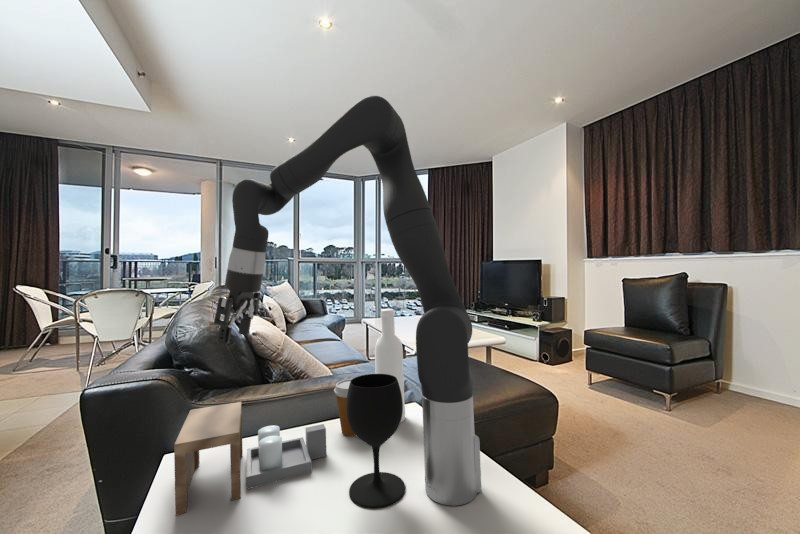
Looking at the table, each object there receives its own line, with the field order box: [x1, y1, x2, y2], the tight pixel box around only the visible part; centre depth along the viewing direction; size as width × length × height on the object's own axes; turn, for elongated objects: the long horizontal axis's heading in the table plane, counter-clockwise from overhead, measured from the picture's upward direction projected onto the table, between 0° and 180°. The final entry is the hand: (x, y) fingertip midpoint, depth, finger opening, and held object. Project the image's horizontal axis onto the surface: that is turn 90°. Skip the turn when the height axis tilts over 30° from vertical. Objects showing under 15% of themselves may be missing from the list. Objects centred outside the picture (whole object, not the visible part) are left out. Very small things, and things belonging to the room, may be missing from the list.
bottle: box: [374, 308, 406, 424], centre depth 95 cm, size 8×8×30 cm
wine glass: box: [346, 373, 406, 510], centre depth 64 cm, size 10×10×20 cm
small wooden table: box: [173, 401, 244, 516], centre depth 68 cm, size 10×17×12 cm, turn 23°
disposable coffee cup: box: [333, 378, 357, 437], centre depth 89 cm, size 10×10×12 cm
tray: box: [245, 423, 327, 490], centre depth 74 cm, size 16×12×7 cm
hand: (234, 338), depth 79 cm, fingers open, 8 cm apart
